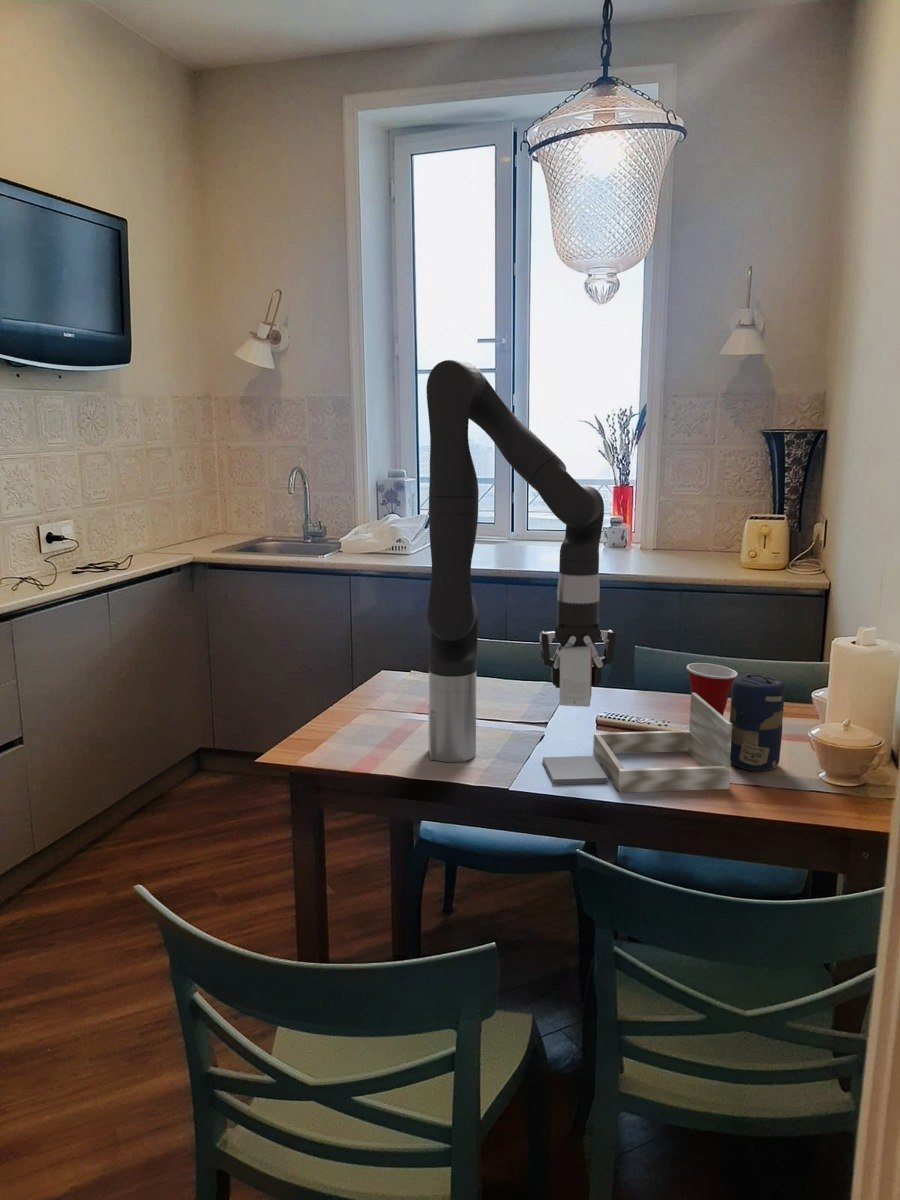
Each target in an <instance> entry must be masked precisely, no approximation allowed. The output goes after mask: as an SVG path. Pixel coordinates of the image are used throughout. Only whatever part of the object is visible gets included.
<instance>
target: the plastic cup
mask: <svg viewBox="0 0 900 1200" xmlns="http://www.w3.org/2000/svg"><path fill="white" fill-rule="evenodd" d="M686 670H687V671H688V673H687V674H688V677H689V685H690V694H691V693H696V694H697V695H699V696H700V697H701V698H702V699H703V700H704V701H706V702H707V703H708V704H709V705H710V706H712V707H713V708H714V709H715V710H716V711H717V712H719V713H720V714H721V715H722V716H723V717H724V713H725V709H726V707H727V703H728V700H729V696H730V692H731V689H732V683H733V680H734V679H735V678H736V677H738V672H737V671H736V670H734V669H732V668H729V667H727V666H724V665H719V664H714V663H708V662H707V663H704V662H696V663H695V662H693V663H689V664H687V665H686Z"/></svg>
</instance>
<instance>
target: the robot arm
mask: <svg viewBox="0 0 900 1200" xmlns="http://www.w3.org/2000/svg"><path fill="white" fill-rule="evenodd" d="M425 392H426V404H427V412H428V423H429V424H428V425H429V437H430V439H429V441H430V442H429V443H430V444H429V488H428V489H429V490H428V525H429V528H428V529H429V547H430V556H431V557H430V558H431V559H430V560H431V575H430V577H431V578H430V586H429V587H430V589H429V595H428V603H427V610H426V611H427V612H426V621H427V624H428V626H429V628H430V645H429V646H430V647H429V655H428V689H429V690H428V696H429V697H428V706H427V707H428V713H427V714H428V715H427V717H428V753H429V760H430V761H438V762H439V761H440V762H445V763H459V762H460V763H461V762H466V761H469V760H472V759H474V758H475V757H476V756H477V755H476V754H477V659H478V658H477V657H478V633H479V629H478V628H479V625H478V623H479V622H478V621H479V620H478V619H479V616H478V615H479V613H478V604H477V601H476V599H475V597H474V596H473V594H472V577H471V576H472V572H471V570H472V560H473V556H474V555H473V553H474V550H475V543H476V537H477V530H478V520H479V494H480V493H479V482H478V477H477V472H476V468H475V465H474V461H473V457H472V454H471V449H470V445H469V444H470V443H469V424H470V423H469V421H470V420H471V421H472V422H473V423H475V424H476V426H478V427H479V428H480V429H482V430H483V431H484V432H485V434H487V436H488V437H489V438H490V439H491V440H492V441H493V443H494V445H495V446H496V447H497V449H498V450H499V452H500V453H501V455H502V456H503V457H504V459H505V460H506V462H507V463H508V464H509V465H510V467H511V468H513V470H514V471H515V472H516V473H517V474H518V475H519V476H520V477H521V478H522V479H523V480H524V481H525V482H526V483H527V484H529V486H530V487H532V488H533V489H534V490H535V491H536V492H537V493H538V494H539V496H540V497H541V499H542V500H543V502H544V503H545V505H546V506H547V507H548V509H549V510H550V511H551V512H552V514H553V515H554V516H556V518H557V519H558V520H560V521H561V522H562V523H563V524H564V525H565V535H564V536H565V537H564V540H563V541H562V543H561V545H560V547H559V548H560V549H559V568H558V569H559V570H558V571H559V574H558V581H557V591H556V597H557V599H556V600H557V602H556V603H557V604H556V607H557V609H556V626H555V629H554V630H553V631H545V630H541V631H539V634H538V635H539V636H538V637H539V647H540V649H539V650H540V660H541V661H542V663H543V664H544V666H548V667H550V672H551V673H550V681H551V683H552V685H553V686H554V687H555V689H560V650H561V648H562V647H563V648H567V647H568V648H571V647H581V646H586V647H591V648H592V663H593V664H592V687H593V688H598V687H599V685H601V682H602V675H603V673H602V672H603V671H602V670H603V667H604V666H605V665H612V663H613V660H614V653H615V645H616V638H617V636H616V635H617V634H616V633H615V632H614V631H613V630H612V629H607V630H601V628H600V626H599V622H600V592H601V591H600V588H601V587H600V586H601V585H600V575H599V572H600V569H599V568H600V550H599V549H600V542H601V537H602V531H603V527H604V526H603V525H604V518H605V503H604V499H603V497H602V494H601V493H600V491H599V490H597V489H596V488H595V487H593V486H591V485H580V483H578V482H577V481H576V479H574V477H573V476H571V474H570V473H569V472H568V471H567V466H566V465H565V463H564V462H563V460H561V458H560V457H559V456H558V455H557V454H556V453H555V452H553V451H552V449H551V448H550V447H549V446H548V445H546V443H544V442H543V441H542V440H541V439H540V438H539V437H538V436H537V435H536V434H535V433H534V432H533V431H532V430H530V428H529V427H528V426H526V424H524V422H522V420H521V419H520V418H519V417H517V415H515V414H514V412H513V411H512V410H511V409H510V408H509V407H508V405H507V404H506V403H505V402H504V401H503V400H502V398H501V397H500V395H499V394H498V393H497V391H496V390H495V389H494V387H493V386H492V384H491V383H490V382H489V381H488V379H487V378H486V377H485V376H484V374H483V373H482V371H481V370H480V369H479V368H478V367H477V366H476V365H474V364H472V363H469V362H467V361H466V362H465V361H462V360H461V361H460V360H454V359H445V360H442V361H440V362H439V363H438V362H437V364H436V365H434V367H432V369H431V371H430V372H429V375H428V378H427V381H426V391H425ZM554 638H555V639H556V641H557V642H558V643H559V644H558V646H557V648H556V650H555V654H554V655H553V657H552V658H551V655H550V645H551V644H552V643H553V640H554ZM600 638H601V639H602V641H603V642H604V647H603V654H602V656H600V655H599V652H598V651H597V649H596V647H595V645H596V643H597V642H598V641H599V639H600Z"/></svg>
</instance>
